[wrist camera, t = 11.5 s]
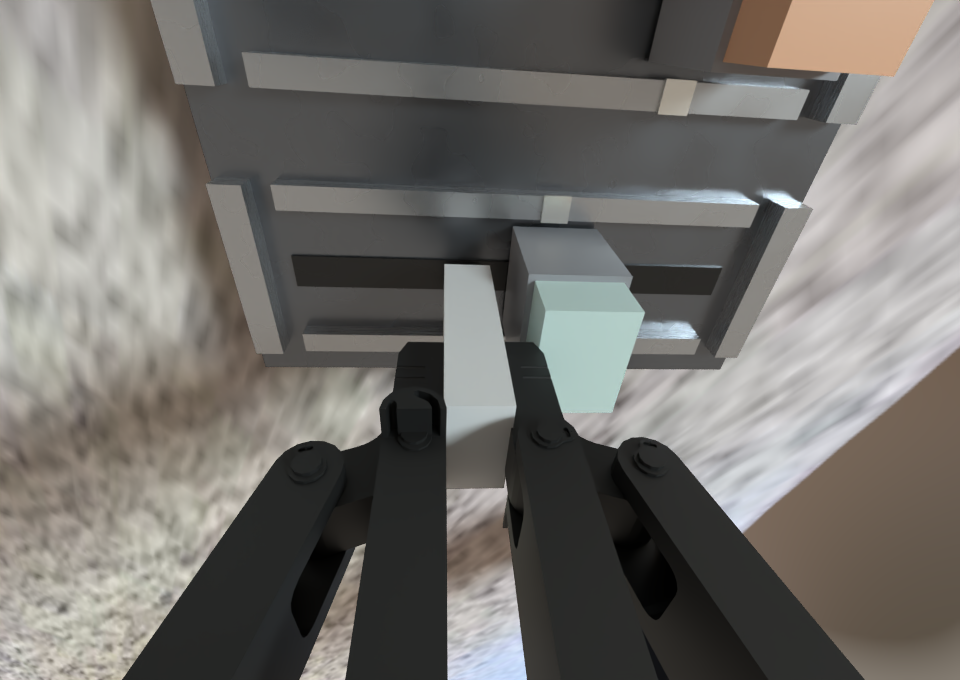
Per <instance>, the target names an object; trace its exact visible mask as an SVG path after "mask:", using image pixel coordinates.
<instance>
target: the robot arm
mask: <svg viewBox="0 0 960 680" xmlns="http://www.w3.org/2000/svg"><path fill="white" fill-rule="evenodd" d="M379 412H380V422H381V432H382V433H381V434H380V435H379V436H378V437H377V438H376V439H374V440H372V441H370V442H369V443H367V444H364V445H361V446H359V447H355V448H351V449H348V450H344V451H340V450H339V449H338V448H337V447H336V446H335V445H332V444H330V443H327V442H325V441H309V442H305V443H301V444H297V445H296V446H294V447H292V448H290V449H288V450H287V451H285V452H284V453H283V454H282V455H281V456H280V457H279V458H278V459H277V460H276V461H275V463H274V464H273V465H272V467H271V468H270V470H269V471H268V473H267V474H266V475H265V477H264V478H263V480H262V481H261V483H260V484H259V485H258V487H257V488H256V490H255V491H254V493H253V494H252V495H251V497H250V498H249V500H248V501H247V503H246V504H245V505H244V507H243V508H242V510H241V511H240V512H239V514H238V515H237V517H236V518H235V520H234V521H233V522H232V524H231V525H230V527H229V528H228V530H227V531H226V532H225V534H224V535H223V537H222V538H221V540H220V541H219V542H218V544H217V545H216V547H215V548H214V550H213V551H212V552H211V554H210V555H209V557H208V558H207V560H206V561H205V562H204V564H203V565H202V567H201V568H200V570H199V571H198V572H197V574H196V575H195V577H194V578H193V579H192V581H191V582H190V584H189V585H188V587H187V588H186V589H185V591H184V592H183V594H182V595H181V597H180V598H179V599H178V601H177V602H176V604H175V605H174V607H173V608H172V609H171V611H170V612H169V614H168V615H167V617H166V618H165V619H164V621H163V622H162V624H161V625H160V627H159V628H158V629H157V631H156V632H155V634H154V635H153V636H152V638H151V639H150V641H149V642H148V644H147V645H146V646H145V648H144V649H143V651H142V652H141V654H140V655H139V656H138V658H137V659H136V661H135V662H134V664H133V665H132V666H131V668H130V669H129V671H128V672H127V674H126V675H125V676H124V678H123V679H122V680H299V679H300V677H301V675H302V672H303V670H304V668H305V665H306V663H307V660H308V658H309V656H310V653H311V651H312V649H313V646H314V644H315V642H316V639H317V637H318V635H319V632H320V630H321V628H322V625H323V623H324V620H325V618H326V616H327V613H328V611H329V609H330V606H331V604H332V602H333V599H334V597H335V595H336V592H337V590H338V588H339V585H340V583H341V580H342V578H343V576H344V573H345V571H346V569H347V566H348V564H349V562H350V559H351V557H352V555H353V552H354V550H355V547H357V546H359V545H362V544H365V543H366V547H365V554H364V560H363V567H362V573H361V580H360V587H359V593H358V600H357V606H356V613H355V620H354V626H353V633H352V639H351V646H350V653H349V659H348V666H347V672H346V679H345V680H447V505H446V489H469V488H504V484H505V477H506V483H507V490H508V496H507V502H506V508H505V514H504V521H503V528H508V530H509V538H510V546H511V554H512V562H513V570H514V578H515V586H516V594H517V603H518V611H519V619H520V627H521V635H522V643H523V651H524V659H525V667H526V675H527V680H658V678H657V675H656V672H655V669H654V665H653V662H652V659H651V656H650V653H649V650H648V647H647V644H646V641H645V638H644V635H643V632H644V634H645V636H646V638H647V640H648V641H649V643H650V645H651V647H652V649H653V651H654V652H655V654H656V656H657V658H658V660H659V662H660V664H661V665H662V667H663V669H664V671H665V673H666V675H667V676H668V678H669V680H864V678H863V677H862V676H861V675H860V674H859V672H858V671H857V670H856V669H855V668H854V666H853V665H852V664H851V663H850V662H849V660H848V659H847V658H846V657H845V656H844V655H843V653H842V652H841V651H840V650H839V649H838V647H837V646H836V645H835V644H834V643H833V641H832V640H831V639H830V638H829V637H828V635H827V634H826V633H825V632H824V631H823V629H822V628H821V627H820V626H819V625H818V624H817V622H816V621H815V620H814V619H813V618H812V616H811V615H810V614H809V613H808V612H807V610H806V609H805V608H804V607H803V606H802V604H801V603H800V602H799V601H798V600H797V598H796V597H795V596H794V595H793V594H792V592H791V591H790V590H789V589H788V588H787V586H786V585H785V584H784V583H783V582H782V580H781V579H780V578H779V577H778V576H777V574H776V573H775V572H774V571H773V570H772V569H771V567H770V566H769V565H768V564H767V562H766V561H765V560H764V559H763V558H762V556H761V555H760V554H759V553H758V552H757V550H756V549H755V548H754V547H753V546H752V545H751V543H750V542H749V541H748V540H747V539H746V537H745V536H744V535H743V534H742V533H741V531H740V530H739V529H738V528H737V527H736V525H735V524H734V523H733V522H732V521H731V519H730V518H729V517H728V516H727V515H726V513H725V512H724V511H723V510H722V509H721V507H720V506H719V505H718V504H717V503H716V501H715V500H714V499H713V498H712V497H711V496H710V494H709V493H708V492H707V491H706V490H705V488H704V487H703V486H702V485H701V484H700V482H699V481H698V480H697V479H696V478H695V476H694V475H693V474H692V473H691V472H690V470H689V469H688V468H687V467H686V466H685V464H684V463H683V462H682V461H681V460H680V458H679V457H678V456H677V455H676V454H675V453H674V452H673V451H672V450H670V449H669V448H668V447H667V446H665V445H663V444H661V443H659V442H658V441H656V440H652V439H648V438H644V437H638V438H630V439H628V440H626V441H624V442H622V444H621V445H620V447H619V448H618V449H616V448H612V447H608V446H604V445H600V444H596V443H593V442H591V441H588V440H586V439H584V438H582V437H580V436H578V434H577V432H576V430H575V429H574V427H573V426H572V425H570V424H569V423H568V422H567V421H566V420H564V418H563V415H562V411H561V408H560V405H559V401H558V398H557V395H556V392H555V388H554V385H553V382H552V379H551V375H550V372H549V369H548V365H547V362H546V359H545V356H544V353H543V352H542V351H541V350H540V349H539V348H538V347H537V346H536V345H535V344H534V342H504V338H503V332H502V327H501V322H500V317H499V311H498V306H497V301H496V296H495V290H494V285H493V280H492V274H491V269H490V265H459V264H444V318H443V342H407V343H406V345H405V346H404V347H403V348H402V349H401V351H400V352H399V354H398V361H397V369H396V374H395V381H394V388H393V392H392V393H391V394H389V395H388V396H387V397H386V398H385V399H384V400H383V402H382V404H381V406H380V408H379ZM641 628H642V629H641ZM642 630H643V632H642Z"/></svg>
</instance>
